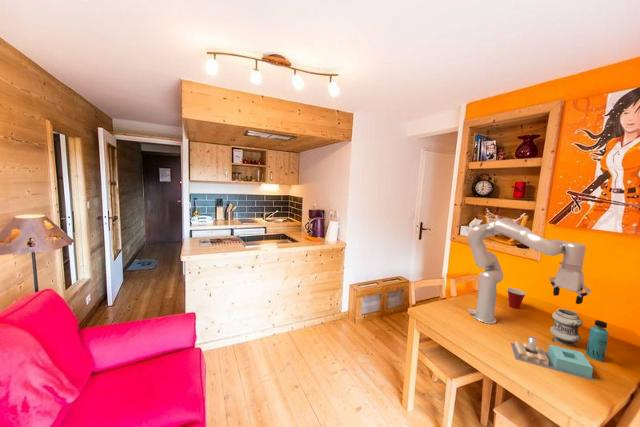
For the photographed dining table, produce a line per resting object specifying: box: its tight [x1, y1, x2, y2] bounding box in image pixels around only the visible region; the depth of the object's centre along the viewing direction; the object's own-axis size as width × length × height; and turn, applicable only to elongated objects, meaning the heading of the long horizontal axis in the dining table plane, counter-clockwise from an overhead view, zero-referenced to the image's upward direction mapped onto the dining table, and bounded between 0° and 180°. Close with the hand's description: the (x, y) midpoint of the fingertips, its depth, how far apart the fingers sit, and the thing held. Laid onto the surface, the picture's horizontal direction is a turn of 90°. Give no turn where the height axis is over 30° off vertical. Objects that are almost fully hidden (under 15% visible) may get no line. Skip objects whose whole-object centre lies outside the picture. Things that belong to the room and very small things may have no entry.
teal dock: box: [547, 344, 594, 378], centre depth 121 cm, size 12×12×5 cm
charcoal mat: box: [510, 342, 597, 382], centre depth 125 cm, size 28×15×2 cm, turn 62°
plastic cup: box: [506, 287, 527, 310], centre depth 182 cm, size 11×11×12 cm
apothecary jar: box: [549, 308, 583, 348], centre depth 140 cm, size 12×12×18 cm
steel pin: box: [527, 335, 538, 354], centre depth 128 cm, size 3×3×9 cm
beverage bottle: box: [585, 319, 610, 362], centre depth 127 cm, size 6×7×20 cm
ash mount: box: [514, 340, 549, 366], centre depth 128 cm, size 11×11×2 cm
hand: (566, 299), depth 134 cm, fingers open, 9 cm apart
